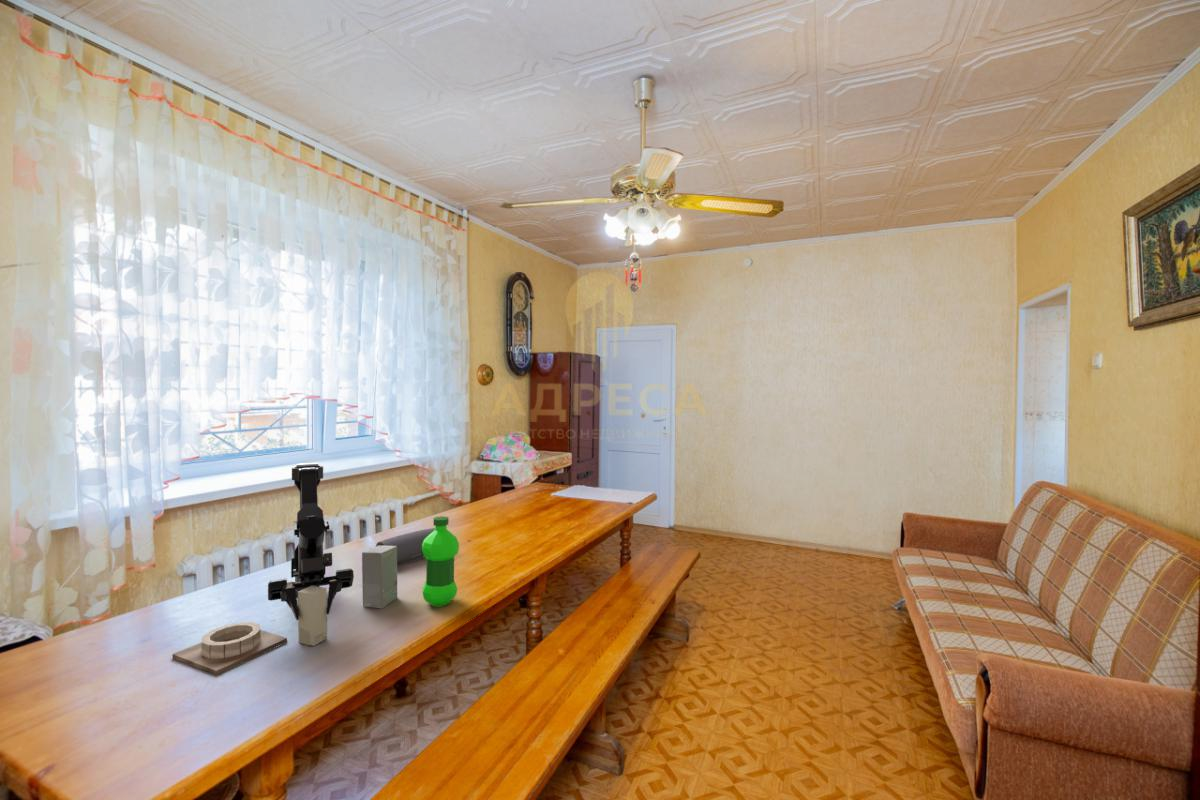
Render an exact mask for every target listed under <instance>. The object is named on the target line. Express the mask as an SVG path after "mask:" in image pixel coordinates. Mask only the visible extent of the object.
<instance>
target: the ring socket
mask: <svg viewBox="0 0 1200 800" xmlns="http://www.w3.org/2000/svg"><path fill="white" fill-rule="evenodd" d="M285 642H286V643H288V637H285V636H281V635H280V634H275V633H272V632H269V631H266V630H263V629H261V625H260V623H256V622H252V621H249V622H248V621H247V622H245V621H244V622H242V621H241V622H236V623H230V624H226V625H222V626H219V627H217V628H215V629H211V630H210V631H208V632H207V633H206V634H204V635H203V636H202V637H201V642H199V643H197V644H196V643H195V644H194V645H191V646H189V647H186V648H184V649H181V650H179V651H176V652H174V653H172V659H173V660H176V661H178V662H181V663H183V664H186V665H189V666H191V667H194V668H196V669H199V670H202V671H204V672H207V673H209V674H212V675H214V676H218V675H219V674H222V673H224V672H226V671H229V670H231V669H233V668H235V667H237V666H239V665H241V664H243V662H244V663H245V662H248V661H249V660H252V659H254V658H257V657H258V656H261V655H263V654H264V652H265V653H266V652H269V651H270V649H271V650H273V649H275V648H277V647H279V646H278V645H280V646H282V645H284V644H286V643H285ZM283 643H284V644H283ZM281 644H282V645H281ZM276 646H277V647H276ZM274 647H275V648H274ZM262 653H263V654H262Z"/></svg>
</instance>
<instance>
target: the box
mask: <svg viewBox="0 0 1200 800" xmlns="http://www.w3.org/2000/svg"><path fill="white" fill-rule="evenodd" d="M327 601H328V592H327V587H323V586H319V587H318V586H310V587H308V588H305V589H303V590H300V591H298V597H297V605H298V611H299V620H297V624H298V625H297V626H298V627H297V628H298V643H299V644H304V645H308V646H315V645H317V644H319V643H321V642H323V641H325V640H326V639H328V615H327Z"/></svg>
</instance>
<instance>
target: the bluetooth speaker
mask: <svg viewBox="0 0 1200 800" xmlns="http://www.w3.org/2000/svg"><path fill="white" fill-rule="evenodd" d="M434 530H435V527H433V528H432V527H431V528H426V529H420V530H416V531H415V530H414V531H412V532H408V533H404V534H400V535H395V536H392V537H390V538H389V537H388V538H386V539H384V540H381V541H378V542H377V543H376V545H375V547H376V546H379V545H385V546H397V566H399V565H405V564H408V563H412V562H415V561H419V560H421V559H423V558H425V557H424V556H423V551H422V543H423V541H424V539H425V538H426V537H427V536H428V535H430V534H431V533H432V532H433V531H434Z"/></svg>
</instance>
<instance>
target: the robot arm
mask: <svg viewBox="0 0 1200 800" xmlns="http://www.w3.org/2000/svg"><path fill="white" fill-rule="evenodd" d="M321 479H324V466H323V465H319V463H318V462H310V463H306V462H305V463H296V466H294V467H291V481H293V483H294V487H295V488H296V489H297V491H298V492H299V510H298V511H297V514H296V515H297V516H296V520H295V521H293V535H294V537H295V536H296V537H297V538H298V544H297V546H296V547H295V549H294V551H293V556H290V557H291V561H290V578H292V579H293V578H294V581H288V578H287V577H286V578H285V577H284V578H278V579H271V580H270V581H269V582H268V583H267V600H268V601H271V602H272V601H277V600H280V601H281V602H285V603H286V604H287V605H288V607H289V608H290V610H291V611H292V613H293V615H294V618H295V620H296V621H298V620H299V611H298V591H300V590H303V589H305V588H308V587H310V586H318V587H323V586H328V592H327V616H328V615H329V614H330V611H331V607H332V604H333V601H334V599H335V597H336V595H337V593H340V592H342V589H347V588H351V587H352V586H353V584H354V583H353V582H354V579H355V578H354V577H355V574H354V570H353V569H352V568H350V567H349V568H345V569H337V570H336V571H335V575H331V576H325V575H326V567H332V566H333V553H332V552H325V553H324V540H325V533H327V532H328V530H330V523H329V521H327V517H324V510H323V509H322V508H321V507H320V506H319V504H318V503H319V499H318V486H319V485H320V483H321Z"/></svg>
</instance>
